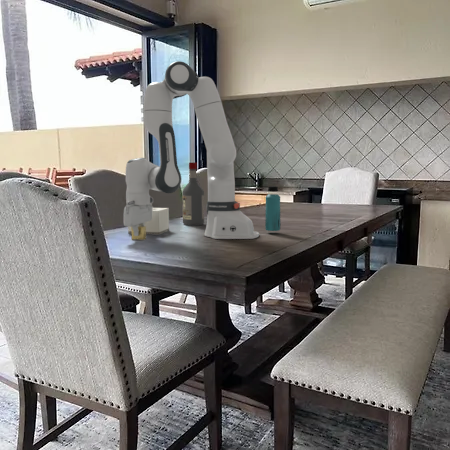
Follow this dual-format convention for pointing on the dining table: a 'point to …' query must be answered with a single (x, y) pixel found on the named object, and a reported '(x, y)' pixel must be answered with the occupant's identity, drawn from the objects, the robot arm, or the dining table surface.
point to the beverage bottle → (273, 210)
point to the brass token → (142, 233)
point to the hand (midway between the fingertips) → (138, 234)
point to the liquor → (193, 200)
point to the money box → (157, 222)
